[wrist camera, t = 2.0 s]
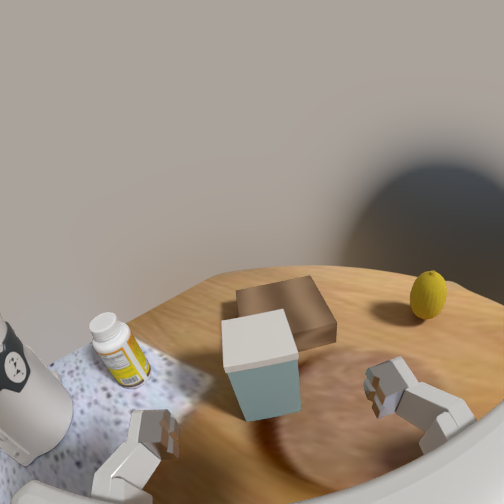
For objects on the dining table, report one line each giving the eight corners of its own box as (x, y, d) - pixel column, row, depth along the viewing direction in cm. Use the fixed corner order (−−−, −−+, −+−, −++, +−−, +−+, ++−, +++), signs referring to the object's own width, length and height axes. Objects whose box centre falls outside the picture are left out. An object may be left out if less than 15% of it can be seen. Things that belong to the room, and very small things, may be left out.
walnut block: (247, 364, 34) (242, 343, 32) (240, 310, 45) (235, 290, 43) (335, 344, 34) (336, 322, 32) (311, 295, 45) (310, 275, 43)
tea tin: (245, 422, 25) (223, 367, 21) (240, 381, 31) (221, 320, 27) (302, 411, 26) (298, 352, 21) (290, 371, 31) (283, 308, 27)
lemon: (399, 321, 34) (408, 274, 31) (415, 302, 37) (423, 257, 33) (430, 336, 30) (444, 288, 27) (444, 314, 33) (456, 269, 29)
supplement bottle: (137, 357, 37) (107, 303, 32) (160, 371, 34) (130, 314, 29) (112, 379, 32) (77, 326, 28) (134, 397, 30) (95, 342, 25)
